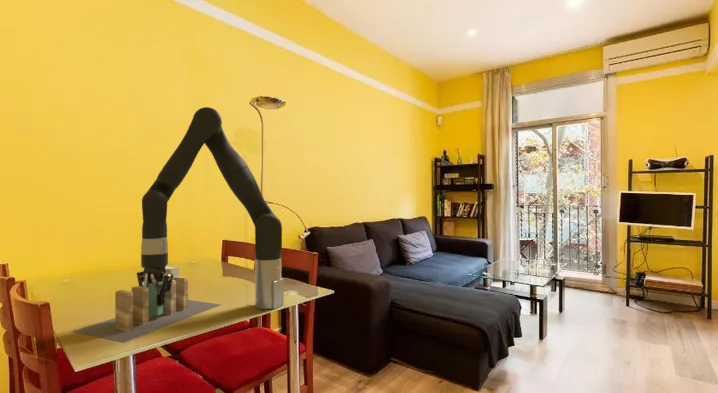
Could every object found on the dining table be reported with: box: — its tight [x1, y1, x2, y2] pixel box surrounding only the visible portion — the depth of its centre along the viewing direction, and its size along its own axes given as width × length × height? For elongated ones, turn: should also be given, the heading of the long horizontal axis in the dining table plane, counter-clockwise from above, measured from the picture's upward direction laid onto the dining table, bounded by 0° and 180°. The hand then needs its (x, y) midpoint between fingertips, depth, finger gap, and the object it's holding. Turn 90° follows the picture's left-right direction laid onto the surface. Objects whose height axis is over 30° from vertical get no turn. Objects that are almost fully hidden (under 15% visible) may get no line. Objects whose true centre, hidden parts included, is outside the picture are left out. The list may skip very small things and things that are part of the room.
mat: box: [71, 299, 222, 344], centre depth 114 cm, size 22×36×1 cm, turn 159°
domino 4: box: [163, 280, 176, 315], centre depth 118 cm, size 2×5×11 cm, turn 69°
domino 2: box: [131, 285, 149, 325], centre depth 109 cm, size 2×5×11 cm, turn 69°
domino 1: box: [114, 289, 133, 331], centre depth 104 cm, size 2×5×11 cm, turn 69°
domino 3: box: [148, 281, 163, 315], centre depth 113 cm, size 2×5×11 cm, turn 69°
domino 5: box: [173, 275, 189, 310], centre depth 123 cm, size 2×5×11 cm, turn 69°
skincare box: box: [165, 265, 180, 280], centre depth 137 cm, size 6×4×12 cm
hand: (154, 304), depth 113 cm, fingers closed on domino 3, 4 cm apart
